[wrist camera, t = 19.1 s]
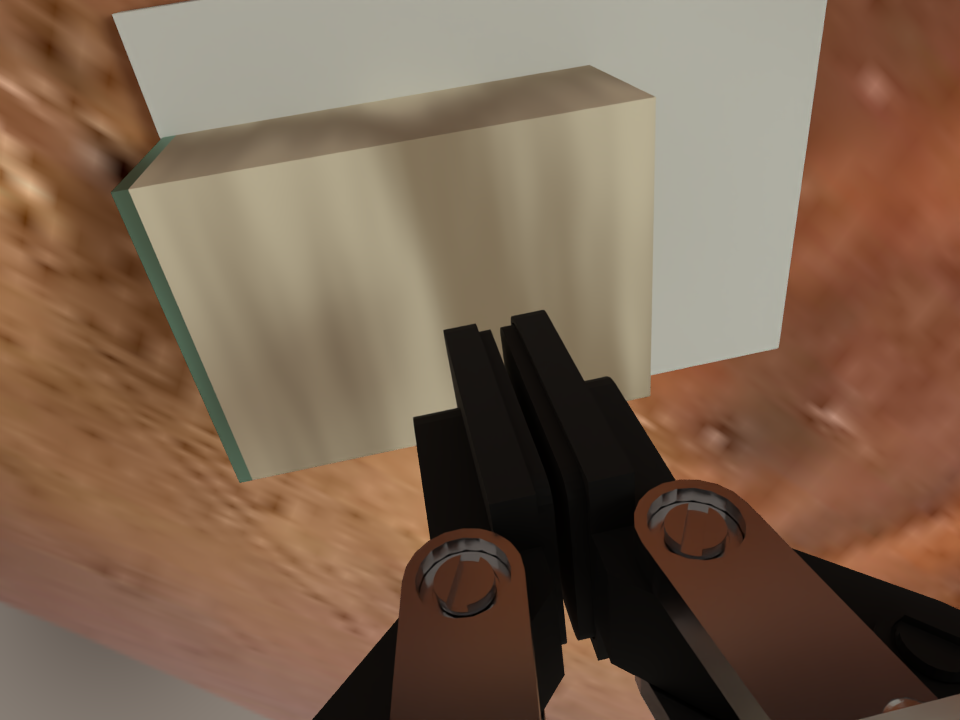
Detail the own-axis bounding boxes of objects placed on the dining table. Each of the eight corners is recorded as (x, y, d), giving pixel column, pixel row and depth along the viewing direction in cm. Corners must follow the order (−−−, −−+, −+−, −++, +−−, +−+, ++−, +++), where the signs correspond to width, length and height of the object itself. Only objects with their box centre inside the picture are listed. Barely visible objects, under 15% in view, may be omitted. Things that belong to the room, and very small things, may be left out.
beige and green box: (655, 97, 12) (111, 192, 12) (650, 395, 16) (239, 482, 15) (589, 64, 16) (162, 137, 15) (597, 318, 20) (258, 387, 19)
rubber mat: (825, -101, 15) (841, -102, 15) (768, 338, 22) (778, 348, 21) (119, 12, 14) (111, 14, 14) (284, 441, 21) (282, 453, 20)
